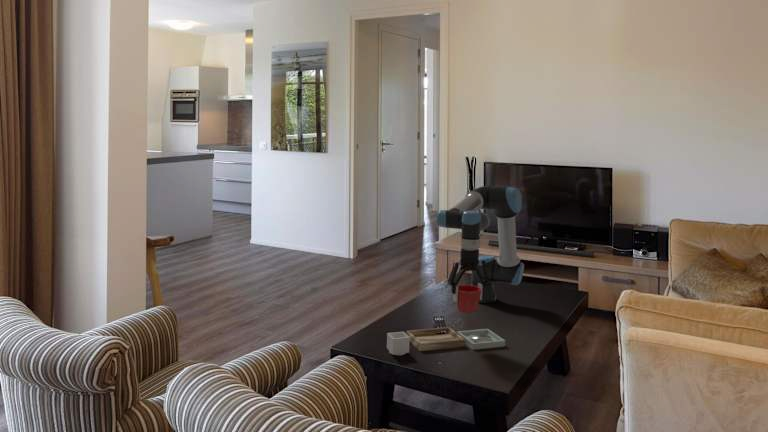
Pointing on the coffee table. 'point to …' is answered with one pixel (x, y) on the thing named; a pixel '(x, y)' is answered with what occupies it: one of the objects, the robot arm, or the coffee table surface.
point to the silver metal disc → (480, 337)
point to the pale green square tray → (494, 342)
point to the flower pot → (468, 298)
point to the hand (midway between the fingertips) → (467, 300)
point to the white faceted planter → (398, 343)
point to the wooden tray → (435, 339)
